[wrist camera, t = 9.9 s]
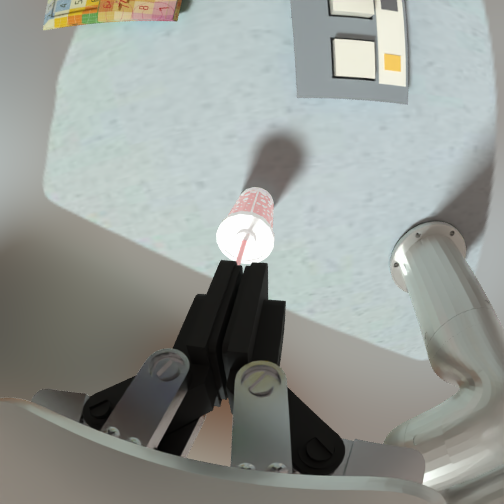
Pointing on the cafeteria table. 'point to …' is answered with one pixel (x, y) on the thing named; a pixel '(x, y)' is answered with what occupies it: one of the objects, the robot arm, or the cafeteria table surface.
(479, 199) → the cafeteria table surface
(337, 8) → the button middle
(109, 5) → the puzzle game
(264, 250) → the beverage cup
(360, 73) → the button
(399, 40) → the button board
